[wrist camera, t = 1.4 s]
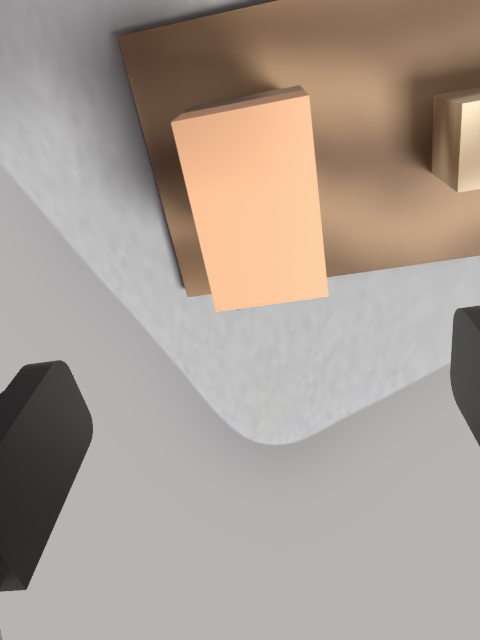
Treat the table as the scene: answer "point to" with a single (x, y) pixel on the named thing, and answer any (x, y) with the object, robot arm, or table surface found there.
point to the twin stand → (335, 118)
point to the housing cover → (255, 199)
